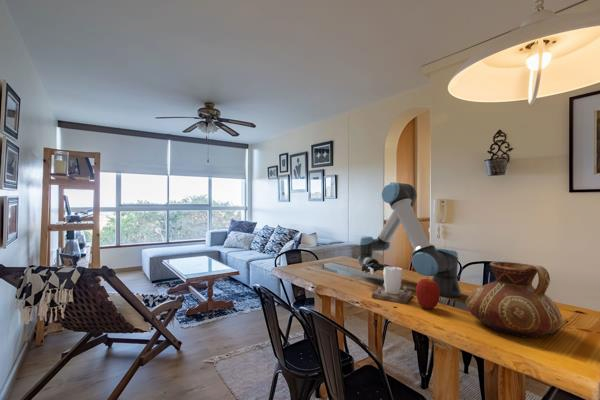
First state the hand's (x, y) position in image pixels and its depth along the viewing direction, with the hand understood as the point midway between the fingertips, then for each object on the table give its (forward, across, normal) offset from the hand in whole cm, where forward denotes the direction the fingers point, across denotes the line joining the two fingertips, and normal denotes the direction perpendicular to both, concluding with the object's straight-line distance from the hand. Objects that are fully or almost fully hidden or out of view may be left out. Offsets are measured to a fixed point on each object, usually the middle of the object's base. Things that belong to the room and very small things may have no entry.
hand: (385, 272), depth 163 cm
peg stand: (+10, 0, -10) cm, 14 cm away
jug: (+48, -30, -10) cm, 58 cm away
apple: (+27, -9, -10) cm, 30 cm away
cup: (+9, 0, -8) cm, 12 cm away
